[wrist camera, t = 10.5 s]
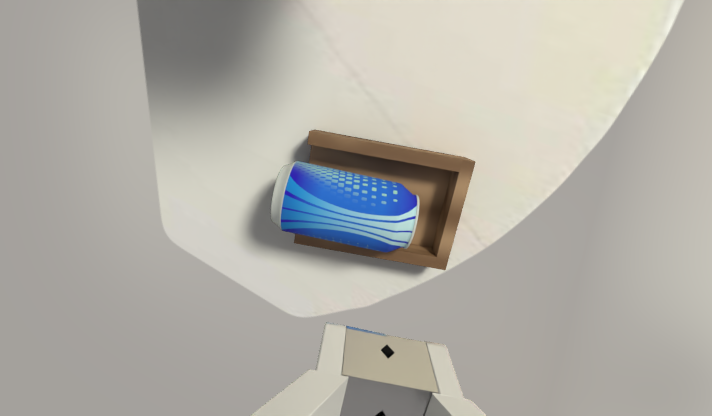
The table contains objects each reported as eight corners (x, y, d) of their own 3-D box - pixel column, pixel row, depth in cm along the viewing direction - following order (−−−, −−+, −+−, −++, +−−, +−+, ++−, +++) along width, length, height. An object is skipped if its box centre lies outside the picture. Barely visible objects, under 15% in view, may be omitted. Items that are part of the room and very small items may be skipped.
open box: (314, 129, 41) (309, 131, 38) (465, 157, 42) (475, 161, 38) (300, 232, 45) (294, 243, 41) (438, 256, 46) (445, 269, 42)
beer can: (264, 239, 36) (405, 269, 37) (274, 166, 33) (426, 199, 34) (283, 214, 44) (399, 238, 44) (292, 153, 41) (416, 179, 42)
